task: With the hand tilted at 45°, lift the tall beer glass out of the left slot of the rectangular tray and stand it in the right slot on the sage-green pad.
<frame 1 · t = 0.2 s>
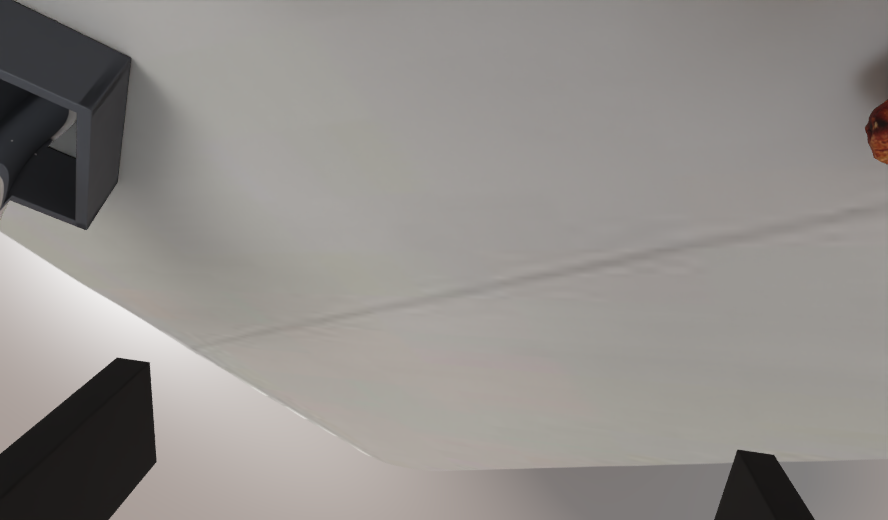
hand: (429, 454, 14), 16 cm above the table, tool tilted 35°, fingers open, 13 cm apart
beer glass: (16, 76, 29), resting in rectangular tray
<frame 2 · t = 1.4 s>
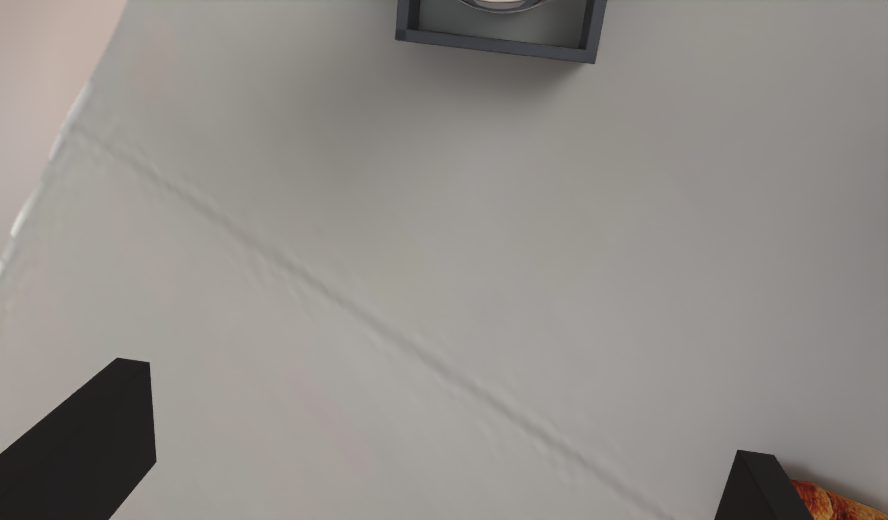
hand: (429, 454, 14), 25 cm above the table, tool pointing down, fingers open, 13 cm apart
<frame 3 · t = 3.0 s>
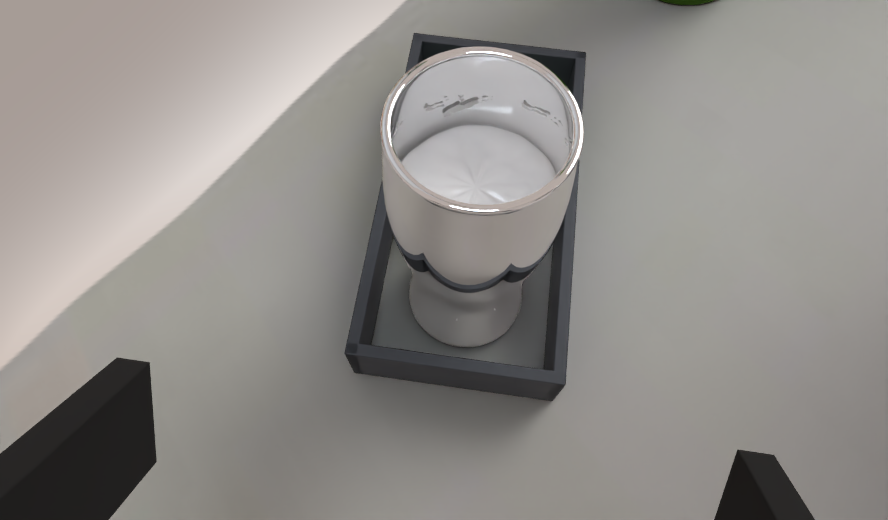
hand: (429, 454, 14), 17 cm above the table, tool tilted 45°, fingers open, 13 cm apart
beer glass: (465, 295, 34), resting in rectangular tray
rectangular tray: (476, 217, 35), on the table
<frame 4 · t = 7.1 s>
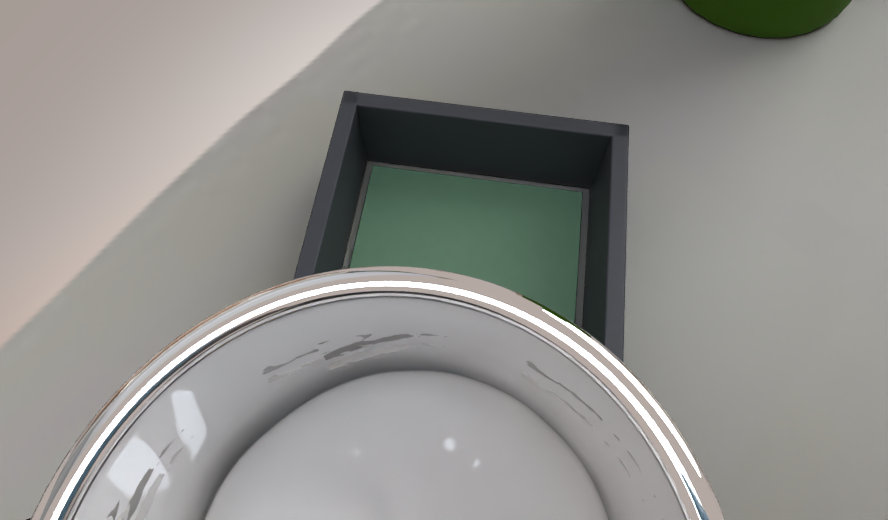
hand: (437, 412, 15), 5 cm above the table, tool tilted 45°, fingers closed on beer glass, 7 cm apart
rectangular tray: (444, 405, 21), on the table
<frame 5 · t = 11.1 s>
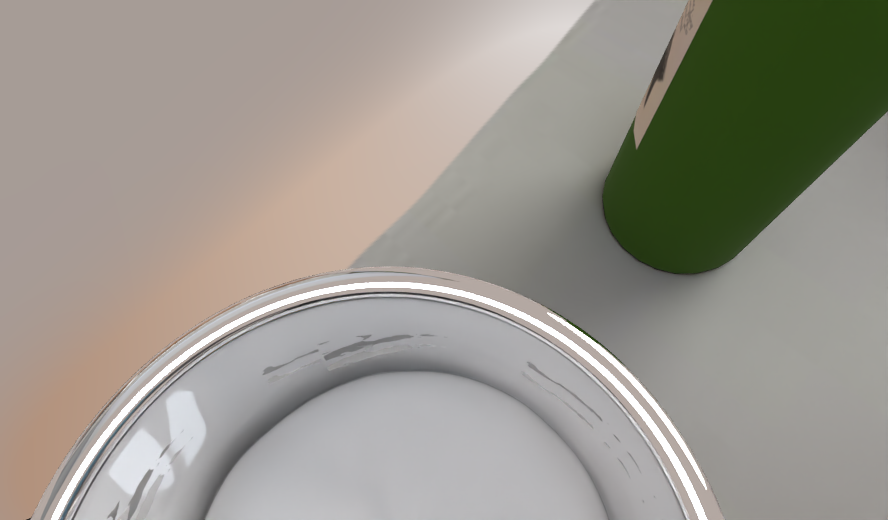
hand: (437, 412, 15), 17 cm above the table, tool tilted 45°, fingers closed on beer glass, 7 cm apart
wine bottle: (672, 210, 38), on the table
when the fingers open (6 cm above the table, at t = 14.9 s): beer glass stays where it is, resting on rectangular tray.
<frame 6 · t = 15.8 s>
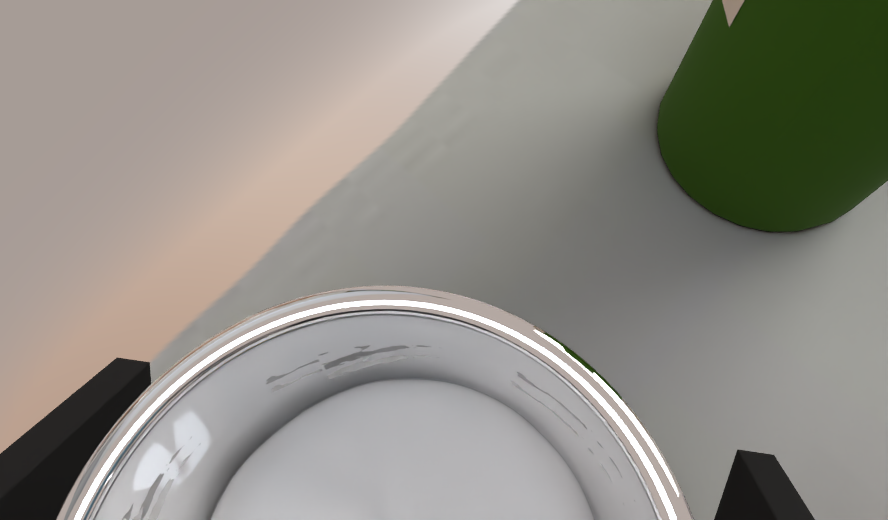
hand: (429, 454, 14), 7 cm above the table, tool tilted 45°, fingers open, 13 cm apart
wine bottle: (755, 145, 27), on the table
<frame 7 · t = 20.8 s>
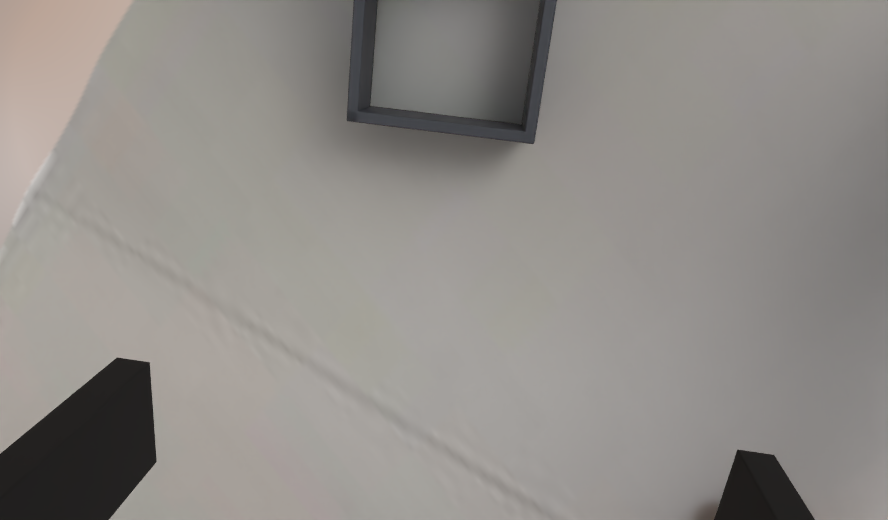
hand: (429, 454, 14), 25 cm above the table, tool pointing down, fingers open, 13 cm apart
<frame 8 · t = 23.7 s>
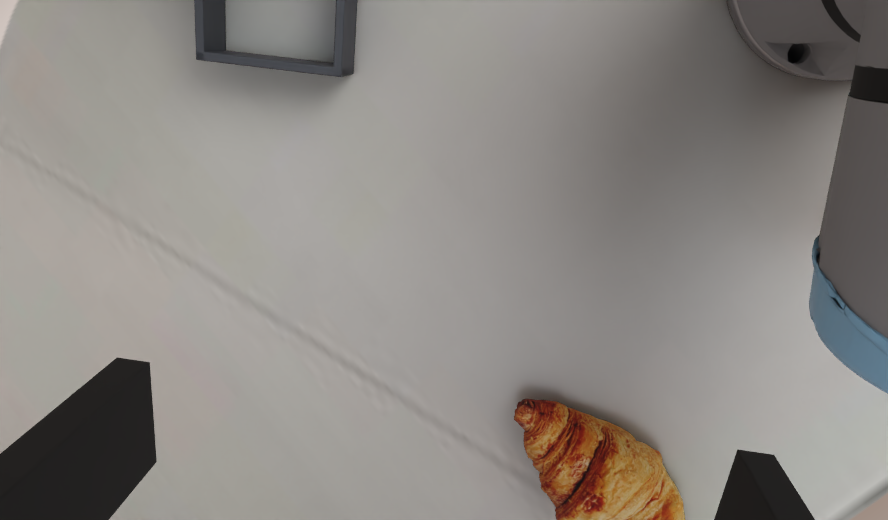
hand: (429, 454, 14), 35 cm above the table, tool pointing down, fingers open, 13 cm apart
croissant: (599, 464, 55), on the table
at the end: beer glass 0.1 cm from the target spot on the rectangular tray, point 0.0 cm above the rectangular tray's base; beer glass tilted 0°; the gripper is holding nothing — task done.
